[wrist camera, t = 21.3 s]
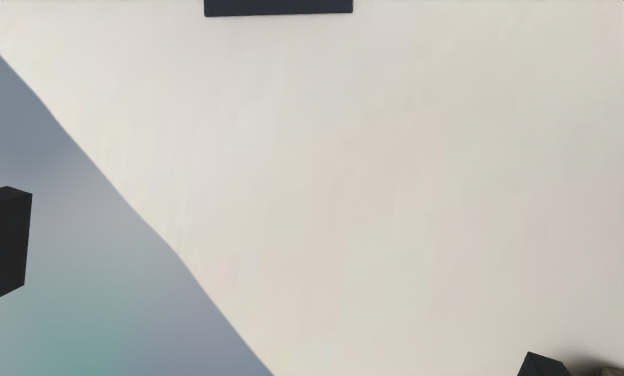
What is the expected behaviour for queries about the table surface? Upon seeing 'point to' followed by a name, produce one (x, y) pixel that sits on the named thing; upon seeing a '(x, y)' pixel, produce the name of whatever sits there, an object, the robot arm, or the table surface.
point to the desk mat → (275, 7)
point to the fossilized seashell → (610, 372)
